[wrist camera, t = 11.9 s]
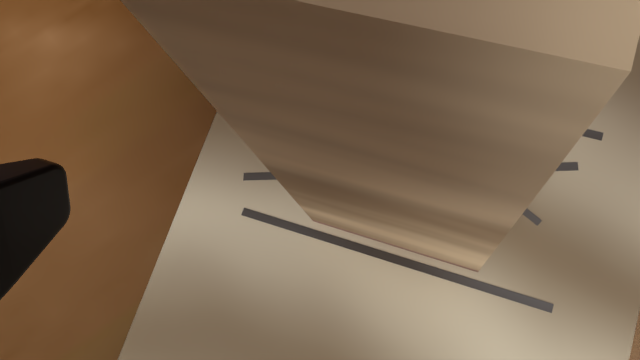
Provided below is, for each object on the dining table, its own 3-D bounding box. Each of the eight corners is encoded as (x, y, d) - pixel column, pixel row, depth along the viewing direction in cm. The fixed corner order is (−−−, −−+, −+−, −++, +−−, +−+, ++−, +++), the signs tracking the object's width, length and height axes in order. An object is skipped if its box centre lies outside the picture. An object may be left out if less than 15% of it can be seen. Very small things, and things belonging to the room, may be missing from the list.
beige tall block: (477, 272, 16) (631, 71, 4) (313, 221, 17) (82, -45, 5) (525, 100, 17) (749, -430, 5) (367, 64, 18) (271, -436, 6)
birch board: (530, 756, 13) (539, 788, 12) (68, 524, 16) (47, 535, 16) (713, -94, 18) (729, -118, 17) (333, -147, 22) (328, -170, 21)
